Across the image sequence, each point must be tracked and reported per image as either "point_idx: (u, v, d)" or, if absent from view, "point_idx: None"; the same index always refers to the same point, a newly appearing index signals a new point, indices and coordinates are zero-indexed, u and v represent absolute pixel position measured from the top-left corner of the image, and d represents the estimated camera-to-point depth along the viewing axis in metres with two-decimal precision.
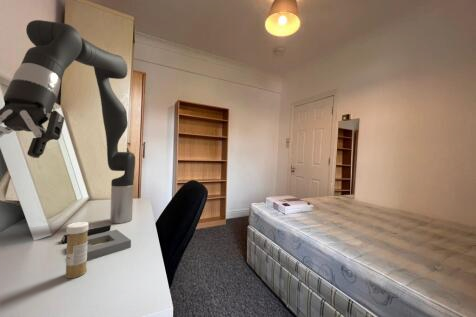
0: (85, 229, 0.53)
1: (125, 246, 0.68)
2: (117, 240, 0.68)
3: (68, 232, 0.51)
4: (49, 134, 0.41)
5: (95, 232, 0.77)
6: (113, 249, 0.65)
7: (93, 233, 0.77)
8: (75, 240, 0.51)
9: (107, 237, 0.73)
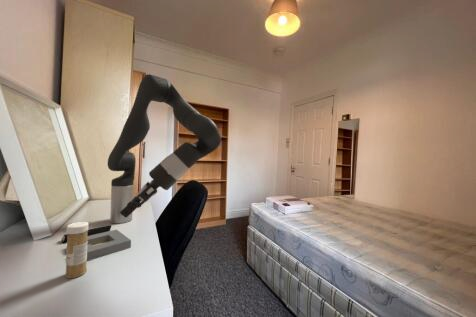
0: (85, 229, 0.53)
1: (125, 246, 0.68)
2: (117, 240, 0.68)
3: (68, 232, 0.51)
4: None
5: (95, 232, 0.77)
6: (113, 249, 0.65)
7: (93, 233, 0.77)
8: (75, 240, 0.51)
9: (107, 237, 0.73)
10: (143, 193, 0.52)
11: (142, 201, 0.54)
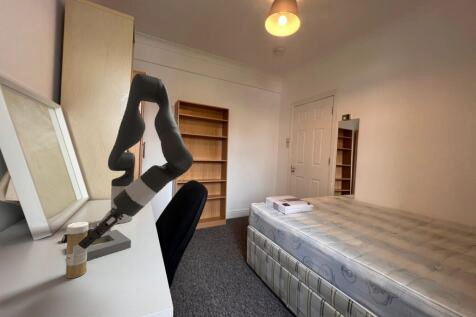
0: (85, 229, 0.53)
1: (125, 246, 0.68)
2: (117, 240, 0.68)
3: (68, 232, 0.51)
4: None
5: None
6: (113, 249, 0.65)
7: None
8: (75, 240, 0.51)
9: (107, 237, 0.73)
10: (103, 224, 0.49)
11: (103, 231, 0.51)
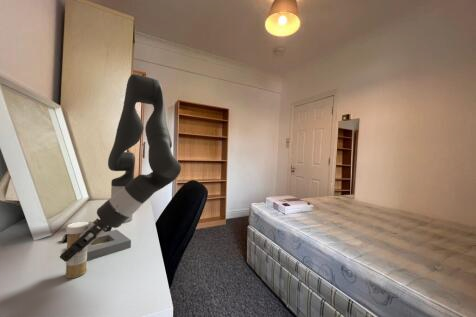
0: (85, 229, 0.53)
1: (125, 246, 0.68)
2: (117, 240, 0.68)
3: (68, 232, 0.51)
4: None
5: None
6: (113, 249, 0.65)
7: None
8: (75, 240, 0.51)
9: (107, 237, 0.73)
10: (81, 239, 0.48)
11: None
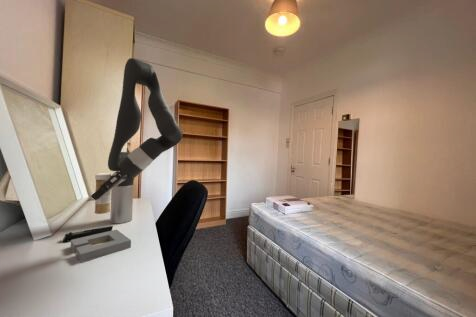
0: (109, 177, 0.68)
1: (125, 246, 0.68)
2: (117, 240, 0.68)
3: (97, 178, 0.66)
4: None
5: (95, 233, 0.77)
6: (113, 249, 0.65)
7: (93, 234, 0.76)
8: None
9: (107, 237, 0.73)
10: (108, 181, 0.63)
11: (109, 187, 0.66)
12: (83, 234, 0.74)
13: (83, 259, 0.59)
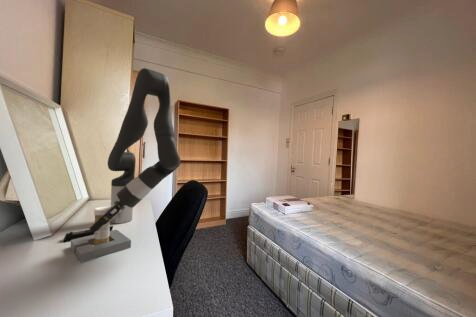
0: None
1: (125, 246, 0.68)
2: (117, 240, 0.68)
3: (96, 214, 0.66)
4: None
5: None
6: (113, 249, 0.65)
7: (93, 234, 0.76)
8: None
9: None
10: (107, 213, 0.63)
11: None
12: (83, 234, 0.75)
13: (83, 259, 0.59)
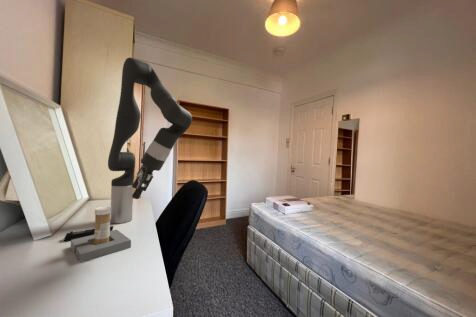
0: (108, 211, 0.68)
1: (125, 246, 0.68)
2: (117, 240, 0.68)
3: (96, 213, 0.66)
4: None
5: None
6: (113, 249, 0.65)
7: (93, 234, 0.76)
8: (101, 220, 0.66)
9: None
10: (144, 180, 0.67)
11: (145, 185, 0.70)
12: (83, 234, 0.75)
13: (83, 259, 0.59)
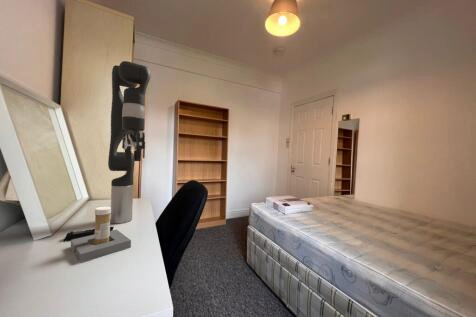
0: (109, 211, 0.68)
1: (125, 246, 0.68)
2: (117, 240, 0.68)
3: (96, 213, 0.66)
4: None
5: None
6: (113, 249, 0.65)
7: (93, 234, 0.76)
8: (101, 220, 0.66)
9: None
10: (139, 138, 0.69)
11: (140, 145, 0.72)
12: (83, 234, 0.75)
13: (83, 259, 0.59)
